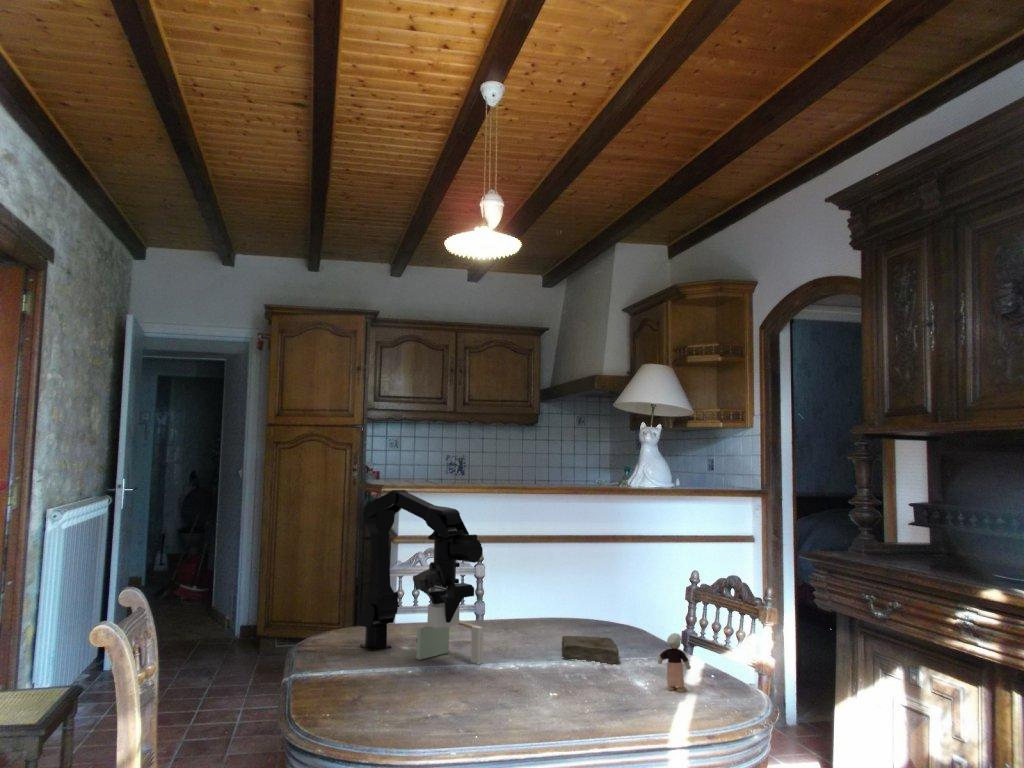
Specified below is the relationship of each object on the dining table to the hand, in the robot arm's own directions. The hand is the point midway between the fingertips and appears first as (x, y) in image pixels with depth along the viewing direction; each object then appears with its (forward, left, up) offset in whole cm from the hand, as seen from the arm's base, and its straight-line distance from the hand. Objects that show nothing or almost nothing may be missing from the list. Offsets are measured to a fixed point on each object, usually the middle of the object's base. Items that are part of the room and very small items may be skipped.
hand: (443, 620), depth 203 cm
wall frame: (-3, +8, -11) cm, 14 cm away
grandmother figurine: (+49, +32, -11) cm, 59 cm away
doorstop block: (0, 0, -1) cm, 1 cm away
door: (-8, +2, -11) cm, 14 cm away
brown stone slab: (+16, +37, -11) cm, 41 cm away
